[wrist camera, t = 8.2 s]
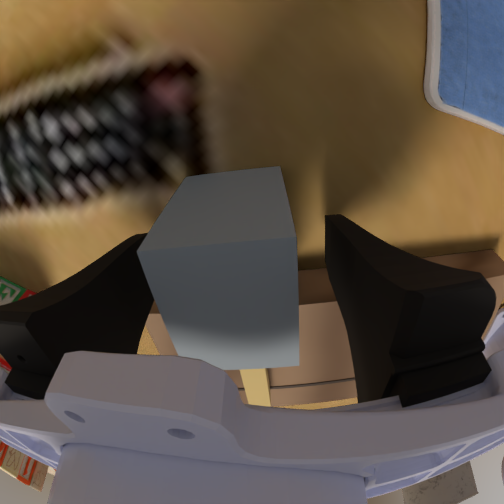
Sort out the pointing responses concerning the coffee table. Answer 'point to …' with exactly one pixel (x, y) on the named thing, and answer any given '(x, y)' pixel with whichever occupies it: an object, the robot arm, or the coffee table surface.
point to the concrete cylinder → (443, 487)
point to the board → (328, 335)
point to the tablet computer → (466, 60)
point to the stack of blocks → (3, 454)
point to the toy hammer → (228, 274)
